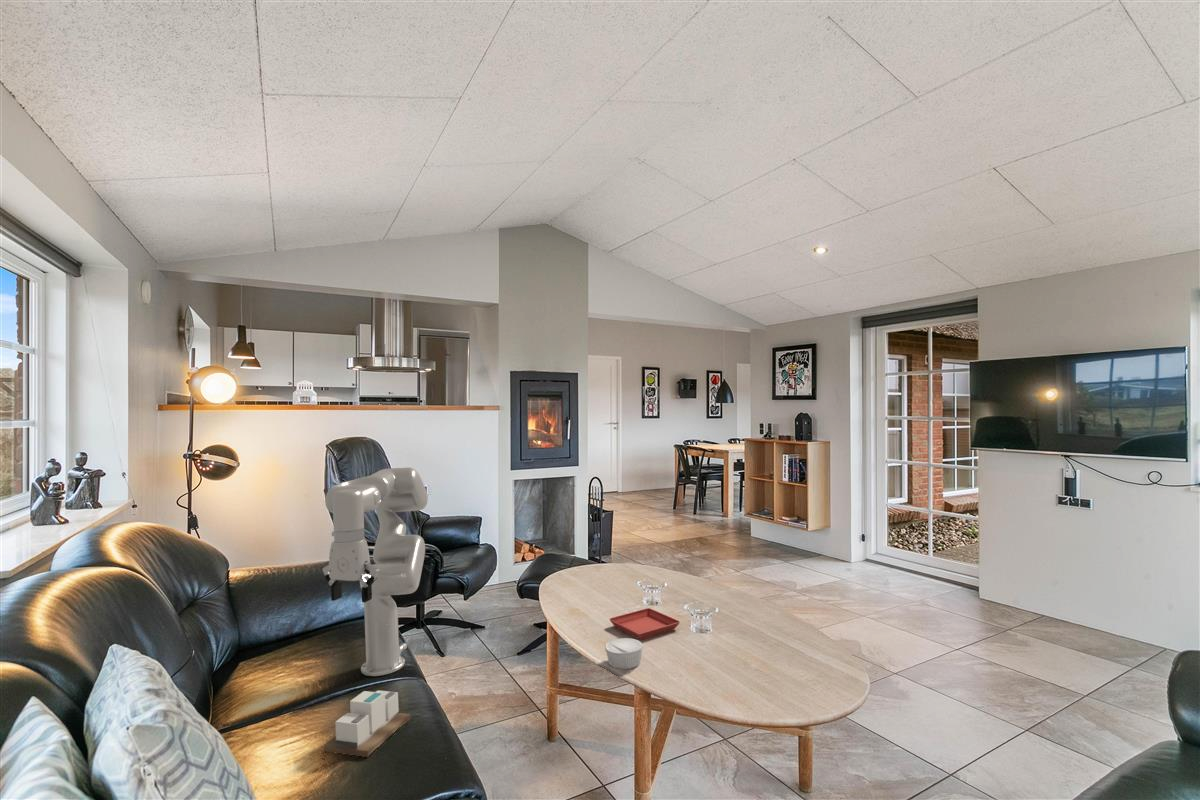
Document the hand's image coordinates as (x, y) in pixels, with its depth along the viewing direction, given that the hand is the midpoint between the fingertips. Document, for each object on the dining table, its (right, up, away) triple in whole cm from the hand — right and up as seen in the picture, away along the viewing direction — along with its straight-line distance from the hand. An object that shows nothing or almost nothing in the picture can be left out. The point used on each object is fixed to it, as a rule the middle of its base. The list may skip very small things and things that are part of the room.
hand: (351, 599), depth 152 cm
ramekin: (+74, -26, +19) cm, 81 cm away
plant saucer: (+82, -26, +45) cm, 97 cm away
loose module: (+11, -25, -15) cm, 31 cm away
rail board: (+11, -28, -15) cm, 33 cm away
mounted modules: (+11, -25, -15) cm, 31 cm away
